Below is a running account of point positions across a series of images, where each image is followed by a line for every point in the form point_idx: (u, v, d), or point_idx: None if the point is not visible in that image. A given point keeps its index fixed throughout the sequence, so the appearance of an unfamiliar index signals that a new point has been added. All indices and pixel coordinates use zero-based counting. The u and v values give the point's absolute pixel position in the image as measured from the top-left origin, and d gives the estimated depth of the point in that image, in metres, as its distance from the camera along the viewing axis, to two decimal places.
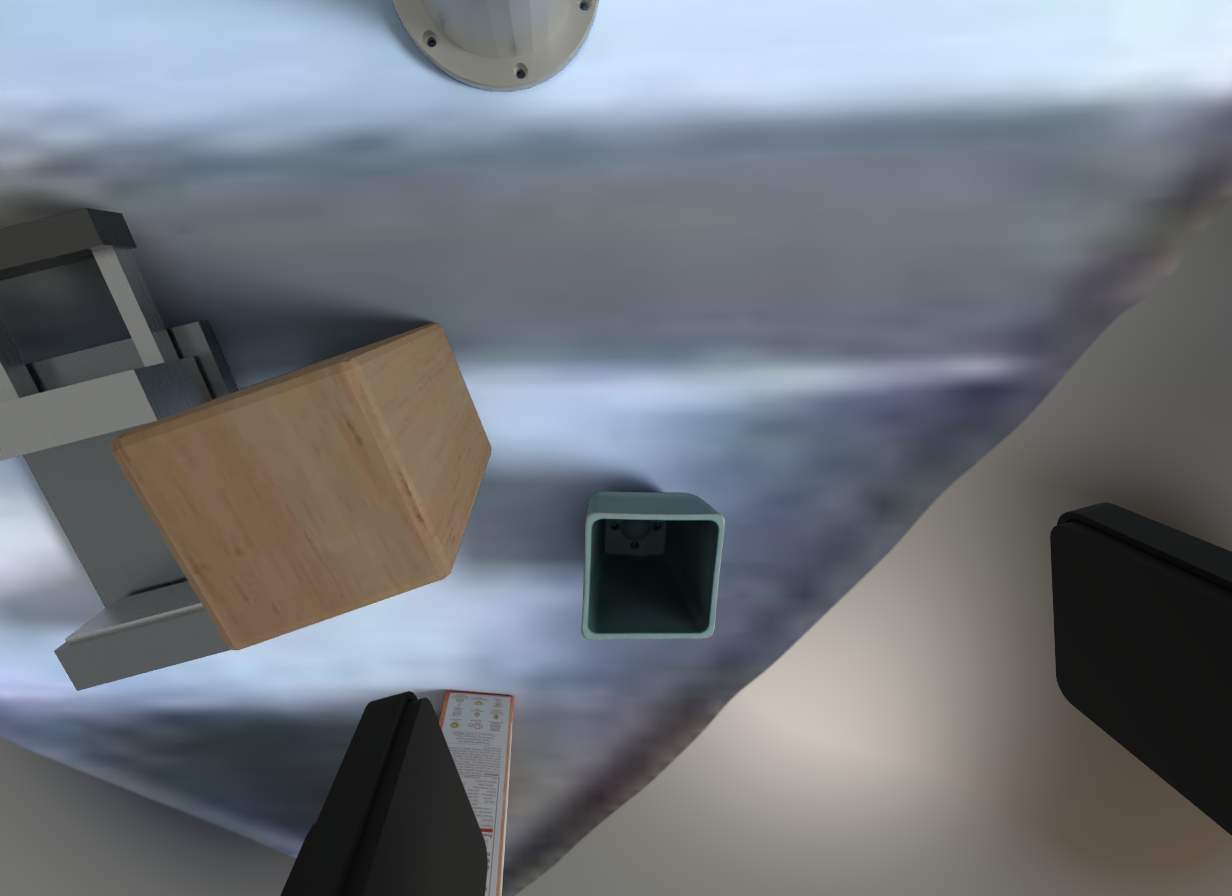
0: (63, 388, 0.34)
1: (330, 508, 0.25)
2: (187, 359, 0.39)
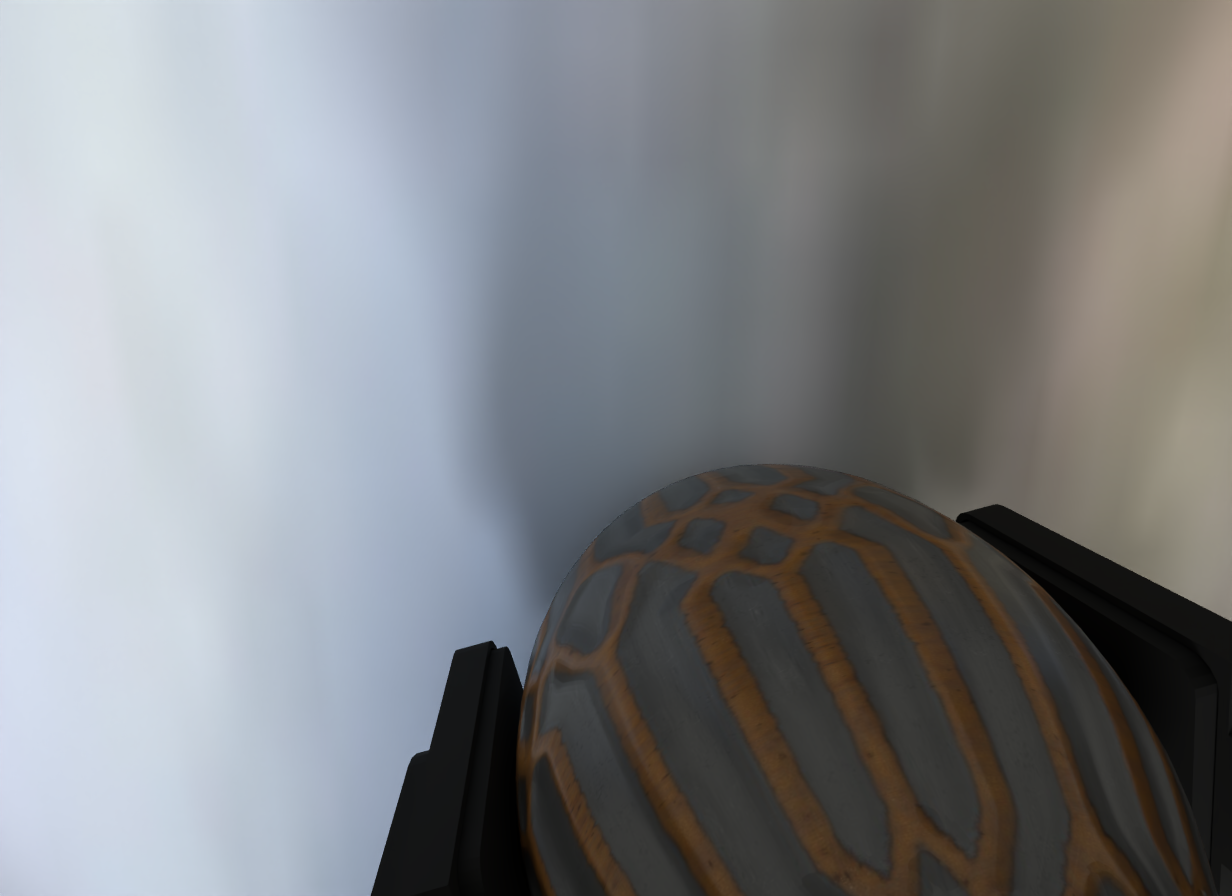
0: None
1: None
2: None
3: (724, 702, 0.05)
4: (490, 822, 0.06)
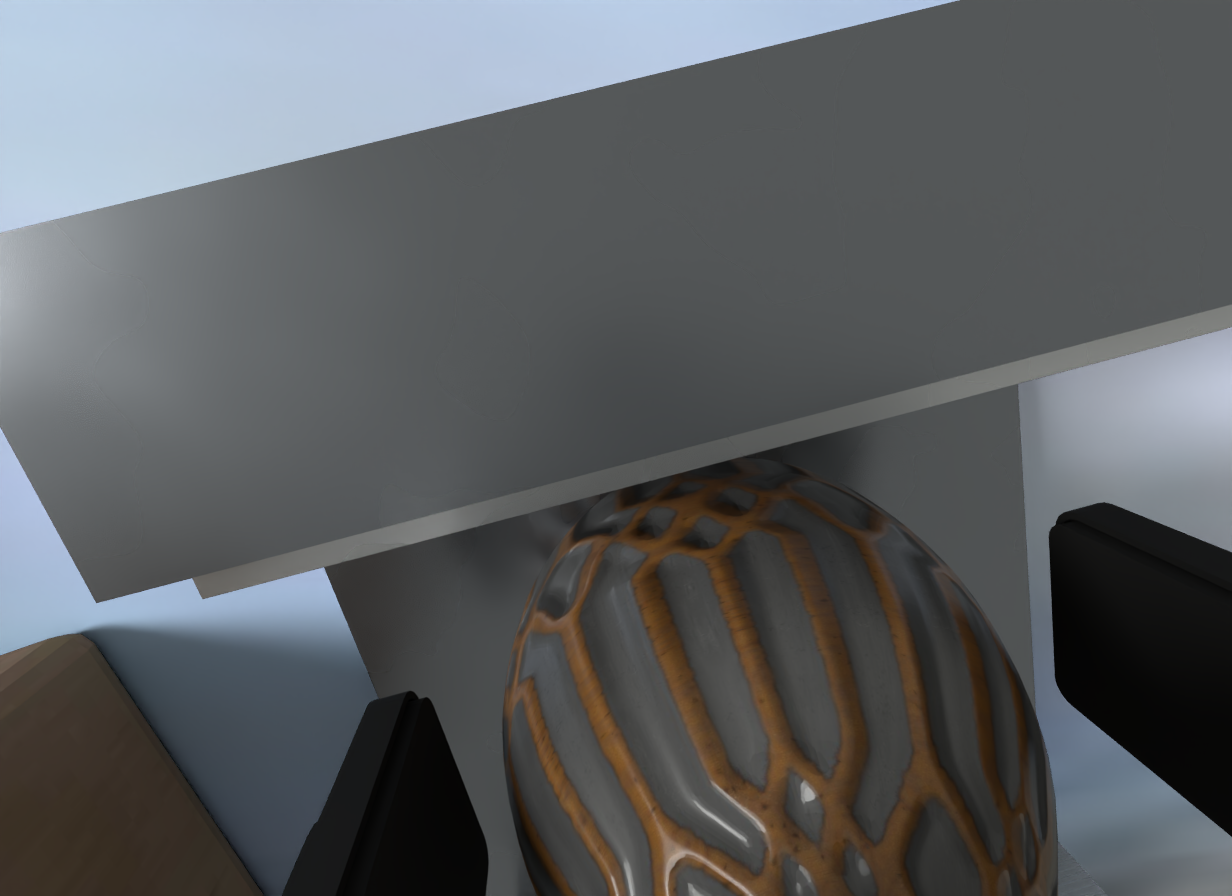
0: None
1: None
2: None
3: (658, 658, 0.06)
4: None
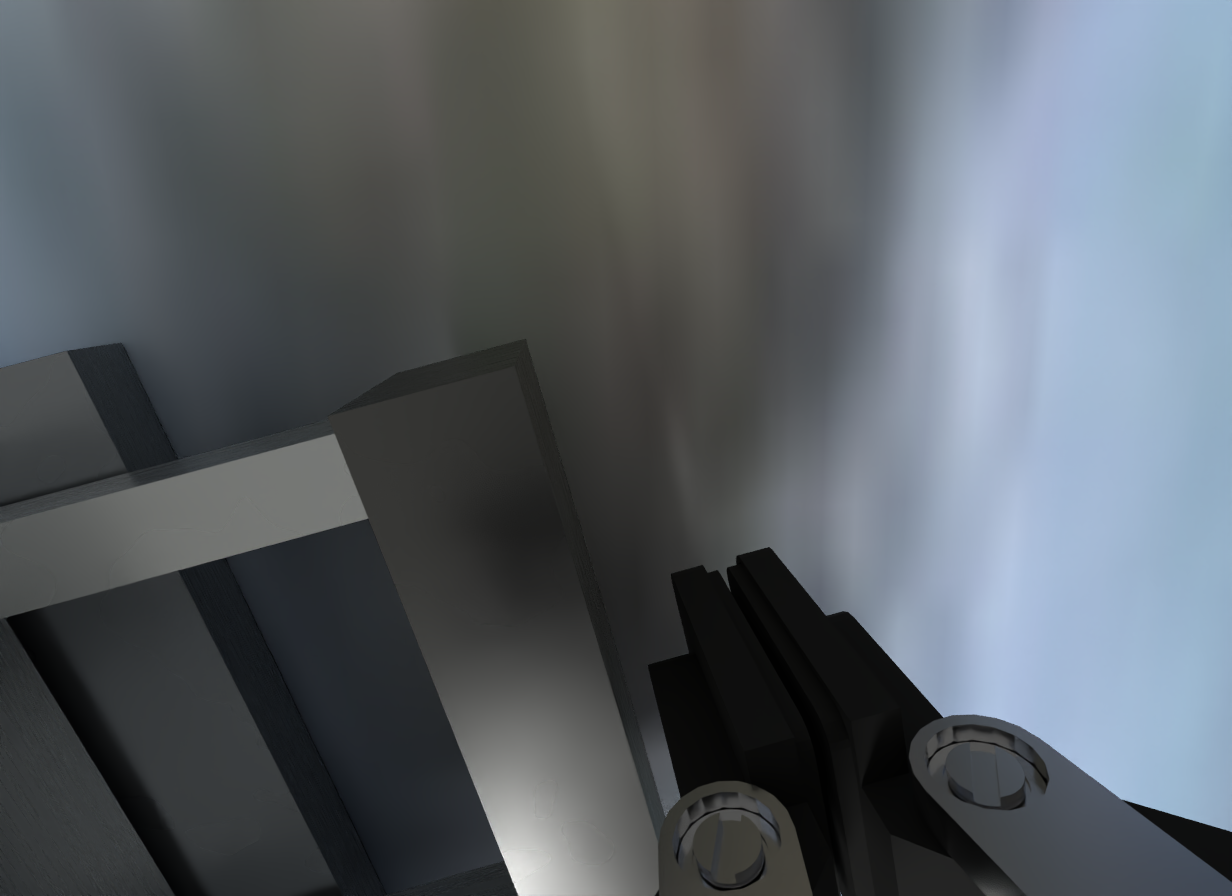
0: None
1: None
2: None
3: None
4: None
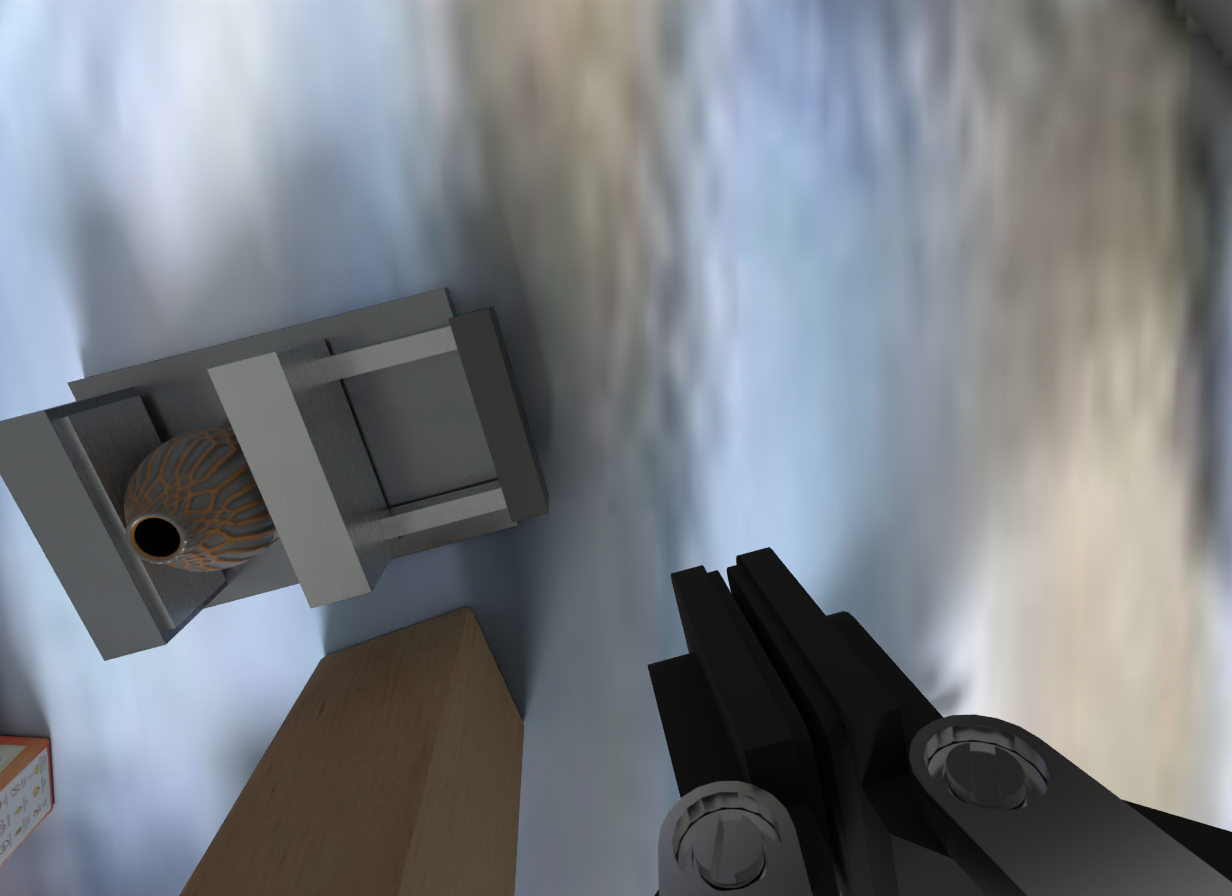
0: (340, 520, 0.29)
1: None
2: None
3: (144, 546, 0.29)
4: None
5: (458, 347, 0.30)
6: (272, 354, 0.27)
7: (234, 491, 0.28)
